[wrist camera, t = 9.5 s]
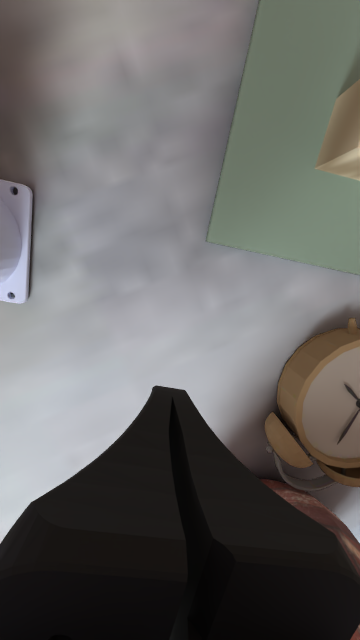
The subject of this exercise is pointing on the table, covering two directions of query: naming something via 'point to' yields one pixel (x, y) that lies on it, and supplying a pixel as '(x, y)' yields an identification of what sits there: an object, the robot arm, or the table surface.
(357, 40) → the rubber mat
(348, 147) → the birch block
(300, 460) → the alarm clock
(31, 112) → the table surface
